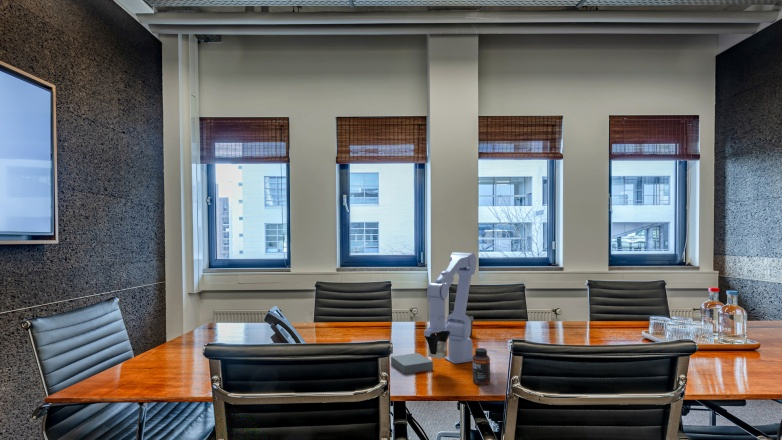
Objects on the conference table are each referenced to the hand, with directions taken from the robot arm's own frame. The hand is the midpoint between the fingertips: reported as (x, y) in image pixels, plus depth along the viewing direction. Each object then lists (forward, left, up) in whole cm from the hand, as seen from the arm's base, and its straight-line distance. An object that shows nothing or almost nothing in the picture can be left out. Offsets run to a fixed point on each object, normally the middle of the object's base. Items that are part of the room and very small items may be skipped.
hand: (437, 352), depth 151 cm
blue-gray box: (+6, -9, -7) cm, 13 cm away
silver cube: (0, 0, -2) cm, 2 cm away
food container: (-41, -44, -8) cm, 61 cm away
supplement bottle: (-9, +15, -8) cm, 19 cm away
